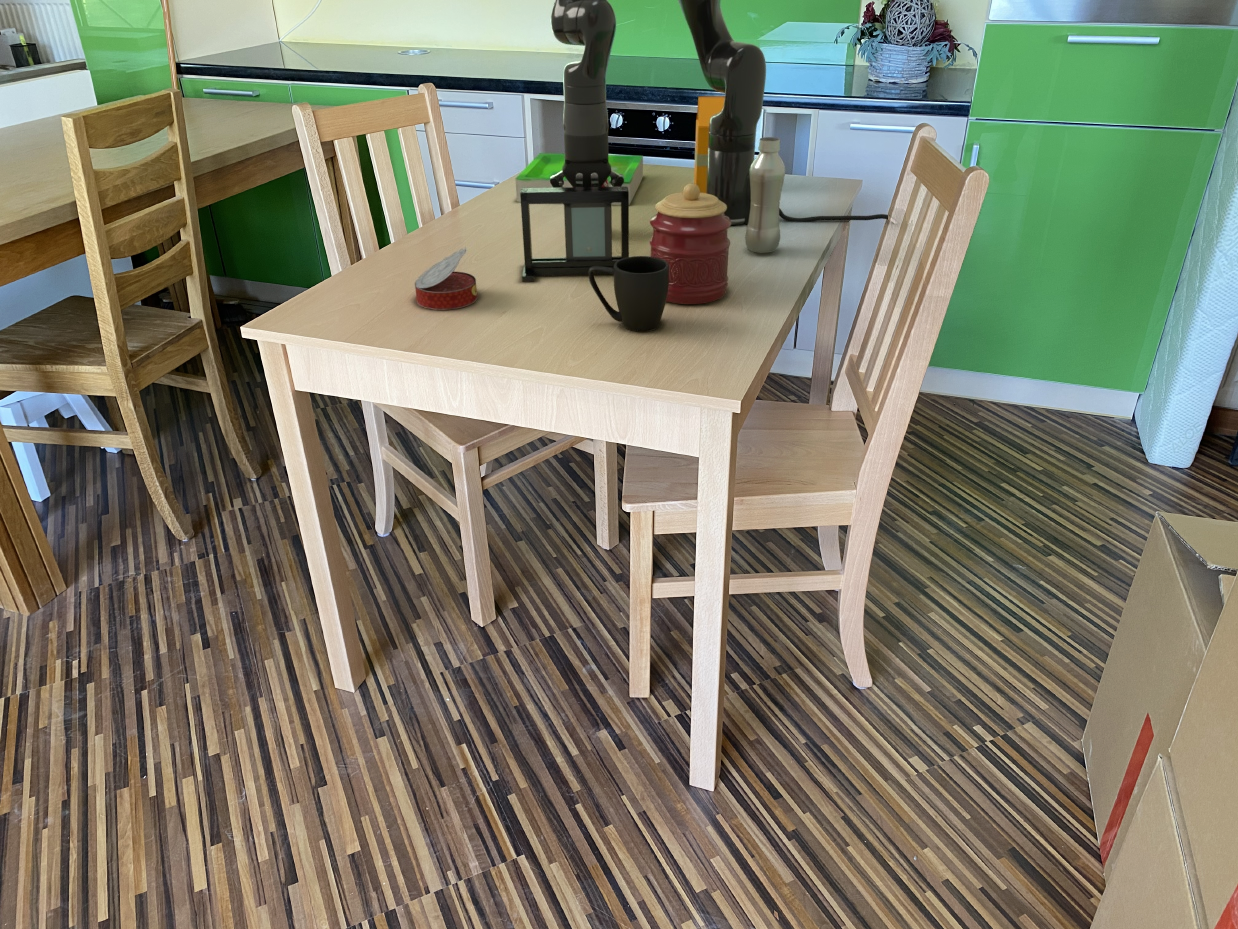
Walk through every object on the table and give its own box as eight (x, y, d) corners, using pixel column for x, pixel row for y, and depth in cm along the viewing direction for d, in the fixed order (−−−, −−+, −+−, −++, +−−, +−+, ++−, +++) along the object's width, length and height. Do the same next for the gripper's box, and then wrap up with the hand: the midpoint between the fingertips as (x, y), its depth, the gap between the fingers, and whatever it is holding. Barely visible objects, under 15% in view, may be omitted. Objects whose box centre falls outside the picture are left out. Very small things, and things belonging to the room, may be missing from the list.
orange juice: (734, 193, 203) (740, 98, 193) (695, 193, 204) (698, 99, 193) (731, 184, 210) (736, 92, 200) (693, 184, 210) (696, 93, 200)
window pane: (610, 249, 164) (610, 188, 158) (612, 262, 158) (611, 200, 152) (566, 250, 164) (564, 189, 158) (566, 263, 157) (563, 200, 152)
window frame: (629, 264, 162) (629, 182, 155) (631, 279, 155) (631, 194, 148) (524, 266, 162) (519, 184, 154) (522, 281, 155) (516, 196, 147)
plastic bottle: (783, 247, 170) (793, 136, 159) (773, 258, 164) (782, 144, 154) (750, 243, 172) (758, 134, 162) (739, 254, 167) (746, 141, 156)
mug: (596, 311, 143) (595, 252, 138) (671, 316, 141) (673, 257, 136) (584, 331, 136) (582, 270, 131) (663, 337, 134) (664, 275, 129)
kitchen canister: (674, 311, 143) (677, 198, 134) (635, 286, 153) (635, 179, 143) (742, 297, 148) (750, 187, 139) (700, 273, 158) (704, 170, 149)
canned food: (459, 335, 147) (438, 294, 138) (412, 317, 151) (389, 275, 142) (498, 287, 151) (480, 243, 142) (452, 270, 155) (432, 227, 146)
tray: (540, 174, 220) (539, 153, 217) (642, 177, 217) (643, 155, 214) (516, 201, 199) (515, 178, 196) (629, 205, 196) (629, 181, 193)
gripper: (625, 124, 156) (625, 224, 165) (545, 125, 155) (550, 225, 164) (627, 133, 149) (627, 237, 158) (544, 134, 149) (549, 238, 158)
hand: (588, 231), depth 161 cm, fingers closed on window pane
